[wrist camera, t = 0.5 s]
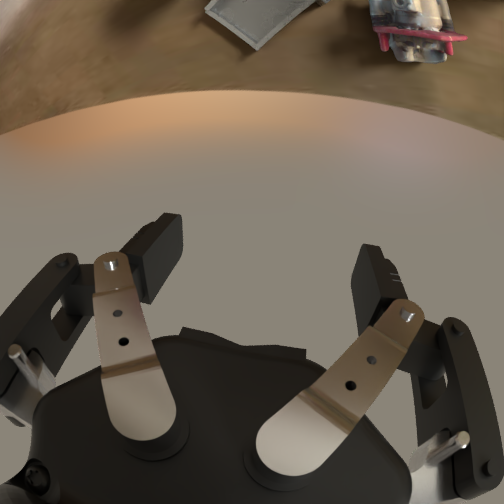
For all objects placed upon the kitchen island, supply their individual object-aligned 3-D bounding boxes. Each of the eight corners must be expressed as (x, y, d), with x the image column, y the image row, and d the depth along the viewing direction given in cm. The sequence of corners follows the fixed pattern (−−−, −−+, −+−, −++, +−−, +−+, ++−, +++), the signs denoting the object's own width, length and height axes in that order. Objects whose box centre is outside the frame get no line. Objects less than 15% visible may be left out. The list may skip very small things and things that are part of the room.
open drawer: (208, 12, 25) (200, 12, 23) (261, -39, 19) (258, -44, 17) (258, 49, 28) (255, 52, 26) (315, 1, 22) (316, 0, 20)
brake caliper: (377, 82, 26) (391, 30, 15) (355, 13, 25) (353, -46, 14) (459, 84, 23) (498, 43, 12) (432, 16, 21) (452, -35, 10)
